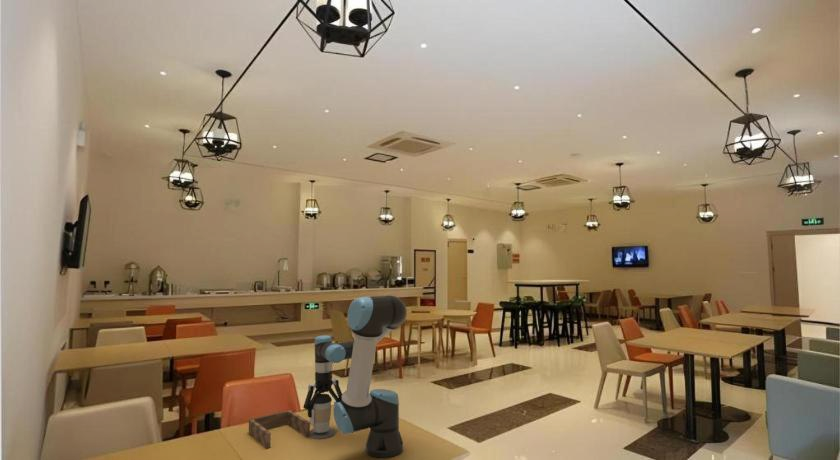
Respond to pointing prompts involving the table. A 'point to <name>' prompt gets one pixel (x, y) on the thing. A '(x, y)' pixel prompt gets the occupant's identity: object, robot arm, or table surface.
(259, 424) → the brown rectangular open frame
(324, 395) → the coffee cup
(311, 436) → the coaster
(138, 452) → the table surface
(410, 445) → the table surface
